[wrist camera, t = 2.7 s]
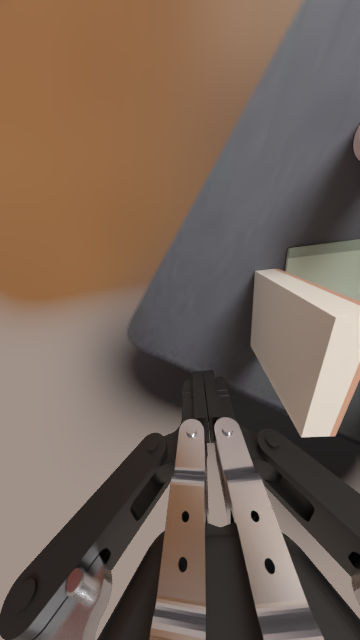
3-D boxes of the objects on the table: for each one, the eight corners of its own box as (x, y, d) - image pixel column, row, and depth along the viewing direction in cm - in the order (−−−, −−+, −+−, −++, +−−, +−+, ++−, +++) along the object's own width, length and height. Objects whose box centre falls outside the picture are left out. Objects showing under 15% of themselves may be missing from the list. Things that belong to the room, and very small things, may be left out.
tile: (277, 268, 19) (387, 312, 9) (268, 344, 24) (335, 436, 13) (254, 270, 20) (336, 317, 9) (250, 345, 24) (301, 437, 13)
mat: (461, 226, 17) (466, 226, 17) (400, 346, 23) (403, 348, 23) (287, 248, 18) (289, 248, 18) (273, 355, 25) (274, 357, 24)
